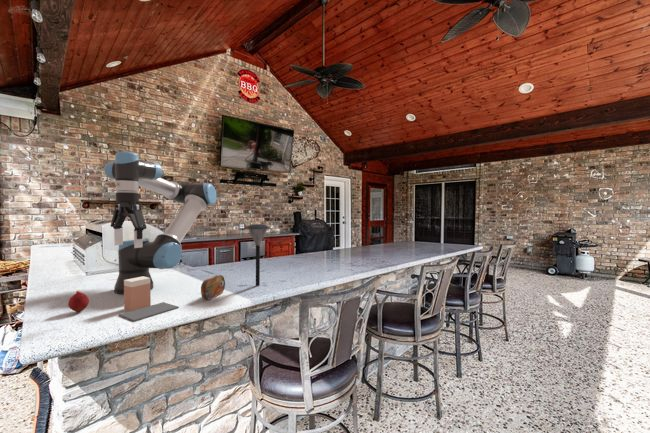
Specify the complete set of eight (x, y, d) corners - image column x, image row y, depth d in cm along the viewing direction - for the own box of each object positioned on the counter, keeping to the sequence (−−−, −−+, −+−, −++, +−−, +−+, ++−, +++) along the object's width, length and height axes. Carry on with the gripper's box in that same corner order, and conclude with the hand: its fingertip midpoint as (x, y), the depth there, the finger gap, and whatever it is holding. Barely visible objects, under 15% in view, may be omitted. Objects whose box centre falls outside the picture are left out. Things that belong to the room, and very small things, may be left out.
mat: (119, 315, 106) (119, 314, 106) (163, 303, 119) (163, 302, 119) (134, 321, 100) (134, 320, 100) (178, 308, 114) (178, 306, 114)
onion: (89, 308, 112) (88, 287, 112) (89, 313, 108) (89, 290, 108) (68, 311, 109) (68, 290, 108) (68, 316, 104) (67, 293, 104)
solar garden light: (259, 290, 139) (259, 225, 138) (239, 286, 145) (239, 224, 144) (275, 284, 150) (275, 224, 149) (256, 281, 156) (256, 223, 154)
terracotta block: (124, 309, 112) (123, 279, 112) (143, 303, 118) (143, 276, 118) (131, 311, 110) (130, 281, 110) (150, 306, 116) (150, 278, 116)
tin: (206, 302, 122) (206, 281, 122) (199, 301, 122) (199, 281, 122) (225, 291, 137) (225, 273, 136) (219, 291, 137) (219, 273, 137)
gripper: (99, 192, 120) (100, 244, 121) (136, 191, 108) (137, 250, 109) (120, 192, 126) (120, 242, 127) (156, 192, 114) (157, 247, 115)
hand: (128, 246), depth 118 cm, fingers open, 13 cm apart
